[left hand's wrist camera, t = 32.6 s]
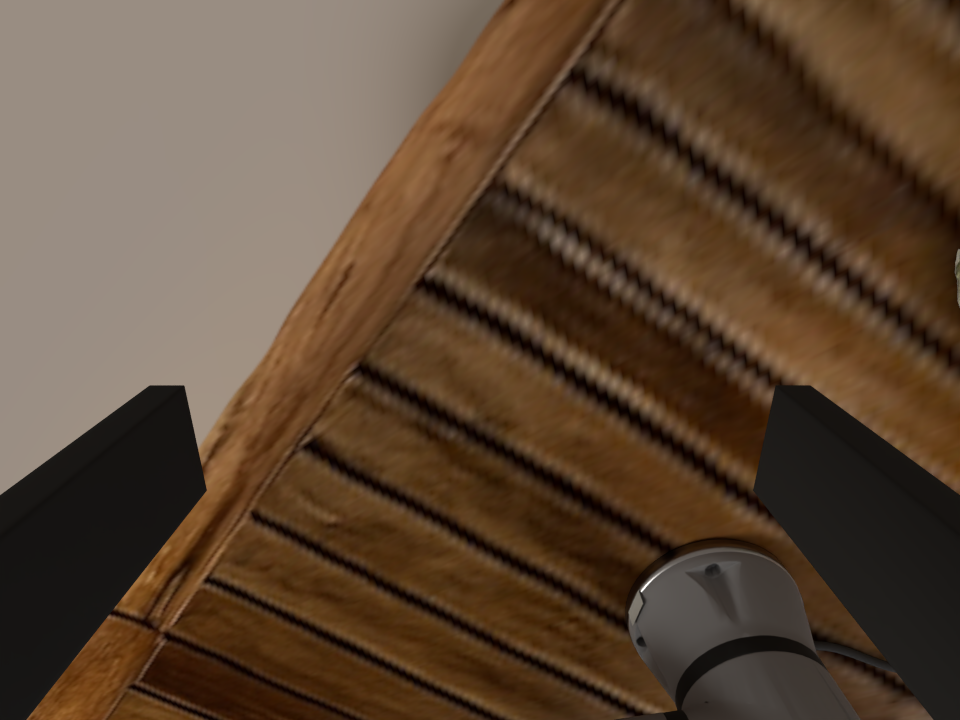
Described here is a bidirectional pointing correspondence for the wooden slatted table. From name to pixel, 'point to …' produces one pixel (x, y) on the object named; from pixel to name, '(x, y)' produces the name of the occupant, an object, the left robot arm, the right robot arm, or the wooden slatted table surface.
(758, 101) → the wooden slatted table surface
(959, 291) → the fossil
